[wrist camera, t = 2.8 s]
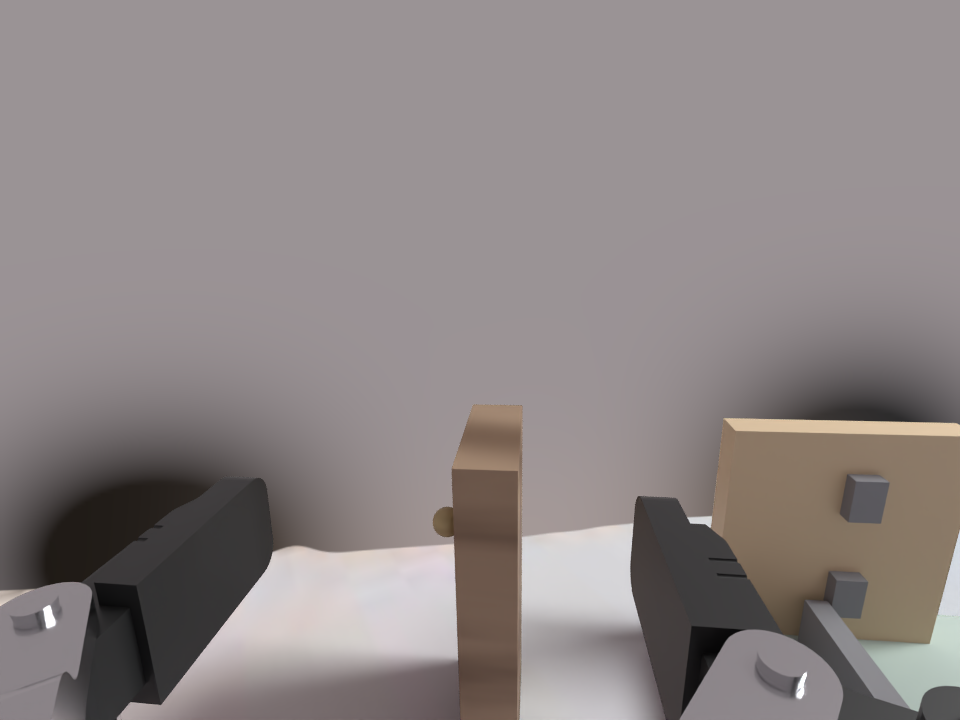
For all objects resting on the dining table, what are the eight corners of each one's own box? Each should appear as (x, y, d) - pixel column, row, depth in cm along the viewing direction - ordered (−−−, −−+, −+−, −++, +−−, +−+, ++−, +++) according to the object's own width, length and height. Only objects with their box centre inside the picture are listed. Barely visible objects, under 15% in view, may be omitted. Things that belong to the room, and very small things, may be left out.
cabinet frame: (1453, 1082, 15) (1758, 709, 11) (806, 996, 17) (887, 653, 13) (976, 633, 31) (1037, 420, 28) (673, 615, 33) (692, 413, 30)
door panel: (517, 790, 23) (518, 470, 19) (440, 782, 24) (424, 468, 19) (521, 662, 30) (522, 405, 26) (461, 658, 30) (452, 404, 26)
